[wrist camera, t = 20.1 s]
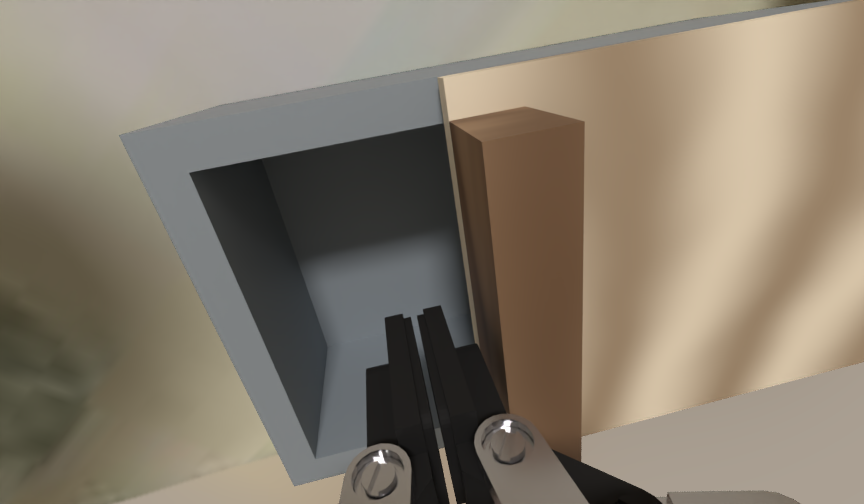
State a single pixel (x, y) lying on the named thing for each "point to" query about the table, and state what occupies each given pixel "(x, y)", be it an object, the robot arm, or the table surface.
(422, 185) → the grey open box
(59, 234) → the table surface
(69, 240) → the table surface
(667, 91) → the lid
